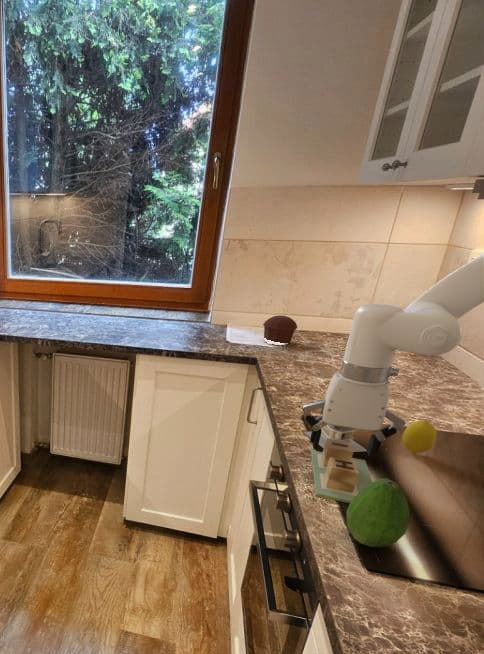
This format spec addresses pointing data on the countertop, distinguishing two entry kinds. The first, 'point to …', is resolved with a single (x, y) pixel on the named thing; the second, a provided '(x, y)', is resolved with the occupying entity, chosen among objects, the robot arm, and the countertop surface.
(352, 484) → the light brown block
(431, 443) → the lemon
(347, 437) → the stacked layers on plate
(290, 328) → the muffin
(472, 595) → the countertop surface
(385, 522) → the avocado
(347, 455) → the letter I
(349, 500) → the word mat
